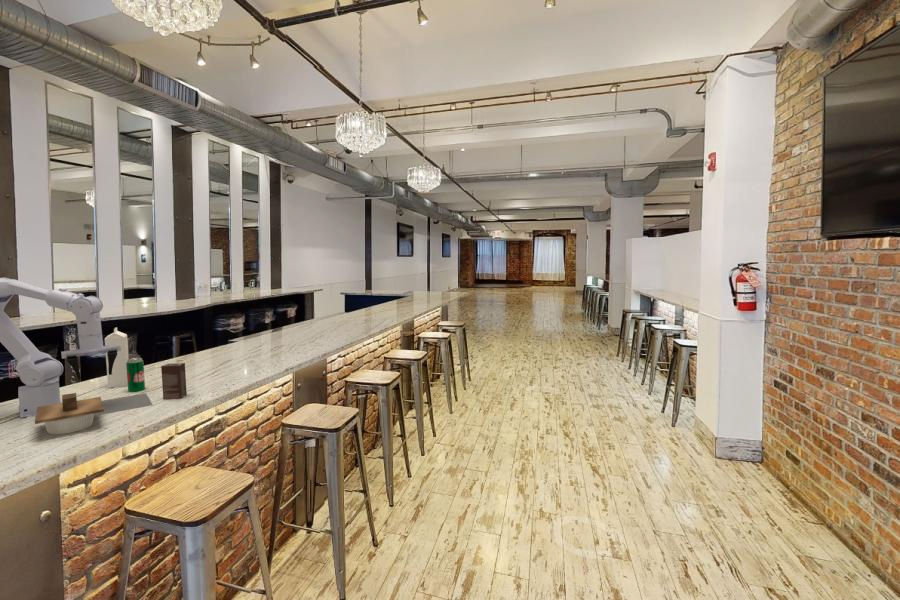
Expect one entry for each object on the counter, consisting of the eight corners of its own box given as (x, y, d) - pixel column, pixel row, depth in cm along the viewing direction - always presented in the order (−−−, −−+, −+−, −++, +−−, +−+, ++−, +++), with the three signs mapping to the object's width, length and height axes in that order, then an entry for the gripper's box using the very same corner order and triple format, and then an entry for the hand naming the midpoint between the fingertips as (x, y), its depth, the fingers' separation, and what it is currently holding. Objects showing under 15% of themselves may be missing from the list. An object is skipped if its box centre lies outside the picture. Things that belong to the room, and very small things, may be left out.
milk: (108, 388, 159) (103, 329, 156) (111, 384, 164) (106, 327, 162) (128, 386, 162) (123, 328, 159) (130, 382, 167) (126, 326, 165)
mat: (89, 418, 130) (89, 416, 129) (87, 404, 141) (87, 403, 141) (153, 406, 140) (152, 405, 140) (146, 394, 152) (146, 393, 152)
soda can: (136, 393, 153) (134, 360, 152) (124, 392, 154) (122, 360, 153) (148, 389, 158) (146, 357, 157) (137, 388, 159) (135, 356, 158)
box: (187, 395, 151) (185, 362, 150) (181, 399, 147) (179, 365, 146) (168, 396, 150) (166, 362, 149) (162, 400, 146) (160, 366, 145)
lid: (34, 424, 112) (33, 408, 111) (37, 409, 122) (36, 395, 122) (103, 411, 121) (102, 396, 121) (100, 399, 131) (99, 385, 131)
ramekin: (82, 419, 129) (81, 402, 128) (105, 425, 125) (103, 407, 124) (34, 433, 119) (33, 415, 118) (58, 440, 114) (56, 421, 114)
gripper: (59, 339, 128) (64, 384, 130) (120, 333, 138) (124, 374, 139) (59, 336, 133) (65, 379, 135) (118, 330, 143) (122, 370, 144)
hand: (95, 376), depth 137 cm, fingers open, 7 cm apart
